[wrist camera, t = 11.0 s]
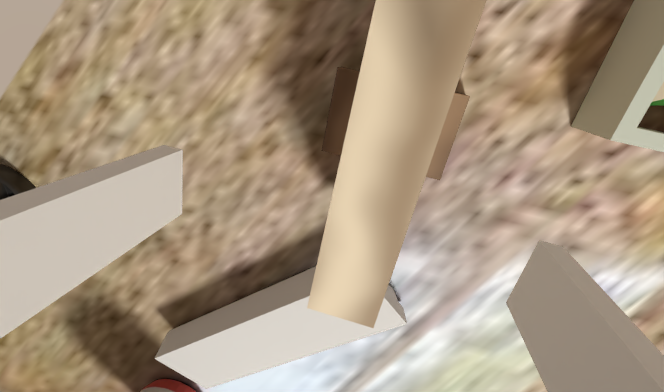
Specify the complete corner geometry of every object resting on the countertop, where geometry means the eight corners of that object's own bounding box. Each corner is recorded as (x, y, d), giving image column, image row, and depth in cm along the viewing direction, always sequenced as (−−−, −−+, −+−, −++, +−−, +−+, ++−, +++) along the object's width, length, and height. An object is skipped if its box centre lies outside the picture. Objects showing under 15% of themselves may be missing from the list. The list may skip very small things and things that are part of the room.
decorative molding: (401, 290, 42) (362, 242, 37) (407, 323, 38) (363, 274, 33) (216, 358, 54) (169, 327, 49) (206, 388, 50) (154, 358, 45)
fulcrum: (325, 146, 34) (314, 158, 30) (341, 67, 31) (331, 67, 27) (437, 173, 33) (443, 190, 29) (465, 94, 30) (477, 99, 25)
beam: (332, 240, 33) (306, 308, 24) (399, -40, 23) (400, -109, 14) (380, 254, 32) (373, 328, 23) (469, -27, 23) (517, -90, 13)
